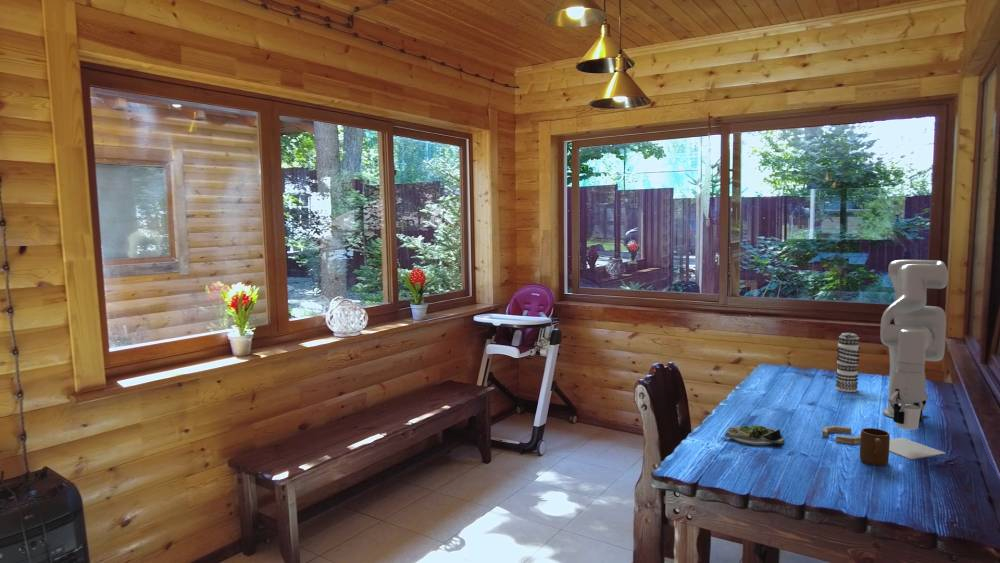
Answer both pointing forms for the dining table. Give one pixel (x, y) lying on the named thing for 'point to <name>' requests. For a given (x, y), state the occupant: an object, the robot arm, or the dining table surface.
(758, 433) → the salad plate
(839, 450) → the dining table surface
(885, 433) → the mug
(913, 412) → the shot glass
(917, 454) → the rubber mat
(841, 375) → the decorative candle
